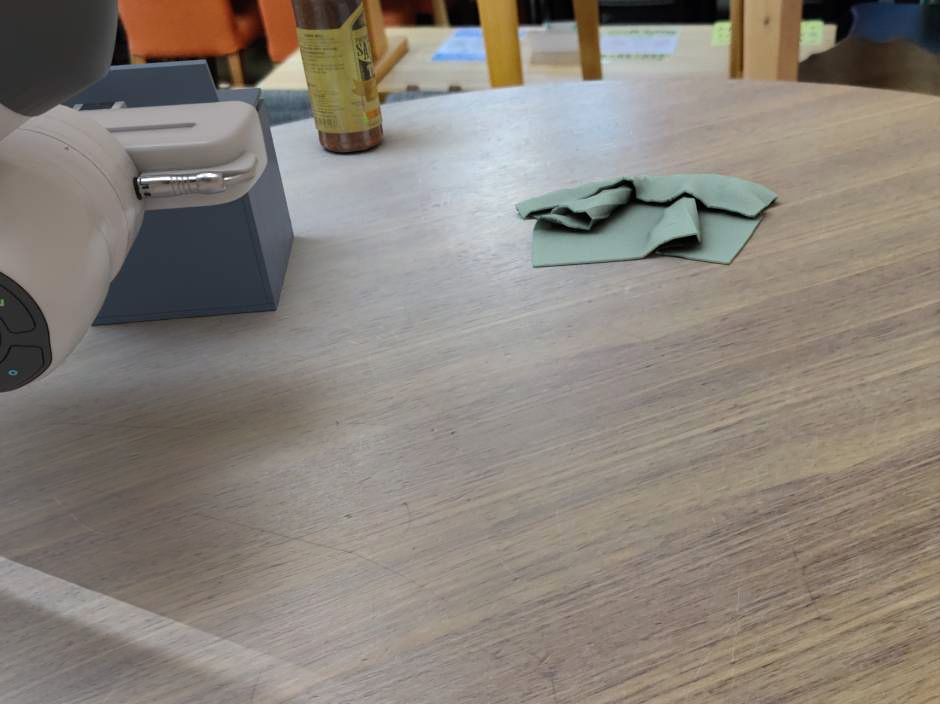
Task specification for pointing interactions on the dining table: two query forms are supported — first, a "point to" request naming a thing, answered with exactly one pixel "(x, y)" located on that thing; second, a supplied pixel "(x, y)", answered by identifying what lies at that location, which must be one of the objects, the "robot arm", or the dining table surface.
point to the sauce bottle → (339, 73)
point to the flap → (152, 85)
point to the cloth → (646, 219)
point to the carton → (208, 251)
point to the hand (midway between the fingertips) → (105, 116)
